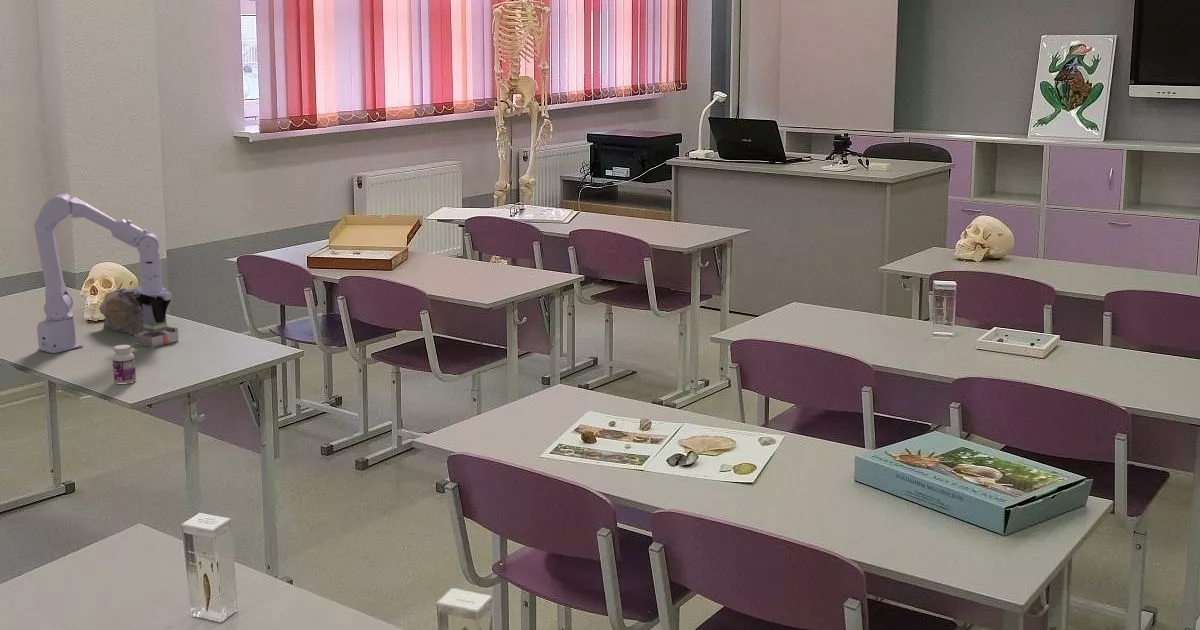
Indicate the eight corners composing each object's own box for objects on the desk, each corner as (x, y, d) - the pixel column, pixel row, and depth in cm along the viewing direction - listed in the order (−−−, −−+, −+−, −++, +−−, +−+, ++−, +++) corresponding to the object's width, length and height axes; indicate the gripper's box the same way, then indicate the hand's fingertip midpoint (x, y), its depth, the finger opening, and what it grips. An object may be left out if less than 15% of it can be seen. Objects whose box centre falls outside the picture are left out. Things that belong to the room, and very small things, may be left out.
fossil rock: (101, 340, 369) (94, 292, 368) (129, 336, 377) (122, 288, 376) (140, 337, 357) (132, 286, 356) (167, 332, 365) (160, 283, 364)
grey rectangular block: (154, 332, 349) (151, 305, 347) (144, 330, 352) (141, 303, 350) (167, 329, 353) (165, 302, 351) (157, 327, 355) (155, 300, 353)
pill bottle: (110, 382, 314) (106, 346, 312) (129, 378, 318) (125, 342, 316) (121, 386, 311) (118, 350, 308) (140, 381, 315) (137, 346, 312)
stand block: (153, 347, 347) (151, 334, 346) (135, 343, 352) (133, 330, 351) (179, 341, 354) (178, 327, 354) (161, 337, 359) (160, 324, 358)
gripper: (179, 275, 348) (182, 321, 351) (147, 270, 355) (151, 315, 359) (158, 280, 342) (162, 326, 345) (126, 274, 350) (130, 319, 353)
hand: (155, 321), depth 352 cm, fingers closed on grey rectangular block, 4 cm apart
